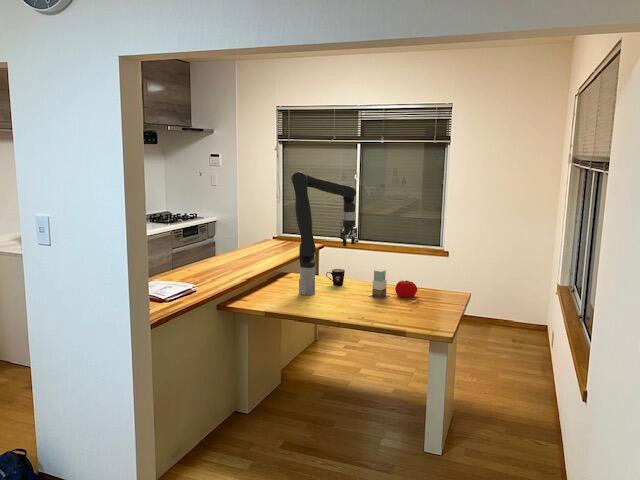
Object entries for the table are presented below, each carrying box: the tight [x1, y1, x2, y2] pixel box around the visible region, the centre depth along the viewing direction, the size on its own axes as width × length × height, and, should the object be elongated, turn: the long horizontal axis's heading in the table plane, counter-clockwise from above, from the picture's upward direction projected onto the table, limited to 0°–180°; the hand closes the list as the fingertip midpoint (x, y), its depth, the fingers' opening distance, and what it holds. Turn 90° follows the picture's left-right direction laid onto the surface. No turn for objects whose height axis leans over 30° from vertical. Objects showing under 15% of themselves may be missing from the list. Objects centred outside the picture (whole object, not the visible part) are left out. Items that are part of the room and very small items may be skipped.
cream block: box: [372, 279, 388, 290], centre depth 320 cm, size 6×6×5 cm
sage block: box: [373, 268, 387, 282], centre depth 319 cm, size 5×5×6 cm
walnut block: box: [371, 288, 387, 298], centre depth 321 cm, size 6×6×5 cm
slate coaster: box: [367, 294, 391, 300], centre depth 321 cm, size 10×10×1 cm
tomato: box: [394, 279, 418, 299], centre depth 321 cm, size 13×12×11 cm
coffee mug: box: [325, 268, 346, 287], centre depth 351 cm, size 12×9×10 cm
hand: (348, 245), depth 327 cm, fingers open, 8 cm apart
